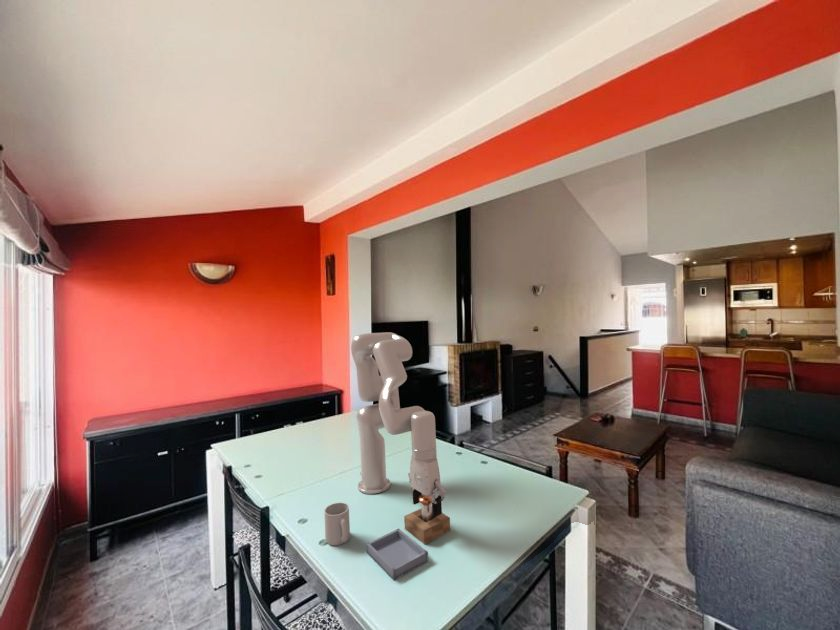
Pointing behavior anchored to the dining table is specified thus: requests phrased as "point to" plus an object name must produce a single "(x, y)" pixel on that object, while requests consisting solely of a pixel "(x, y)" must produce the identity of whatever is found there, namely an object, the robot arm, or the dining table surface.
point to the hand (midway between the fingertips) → (427, 508)
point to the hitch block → (426, 526)
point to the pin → (426, 507)
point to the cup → (337, 523)
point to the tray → (396, 553)
